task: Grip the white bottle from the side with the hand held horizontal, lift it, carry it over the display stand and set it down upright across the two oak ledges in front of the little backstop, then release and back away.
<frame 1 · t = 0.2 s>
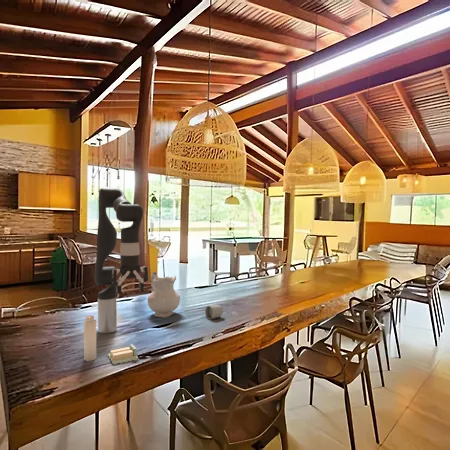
hand: (130, 293, 143), 29 cm above the table, tool pointing down, fingers open, 8 cm apart
display stand: (122, 357, 149), on the table
ceramic pitcher: (162, 314, 212), on the table
ceramic mug: (212, 317, 206), on the table
white bottle: (90, 358, 148), on the table
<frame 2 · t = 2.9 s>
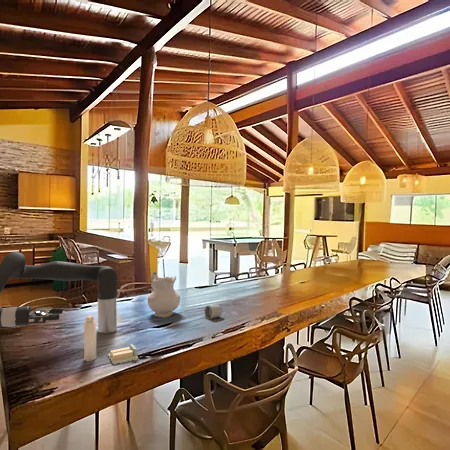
hand: (61, 313, 144), 20 cm above the table, tool horizontal, fingers open, 8 cm apart
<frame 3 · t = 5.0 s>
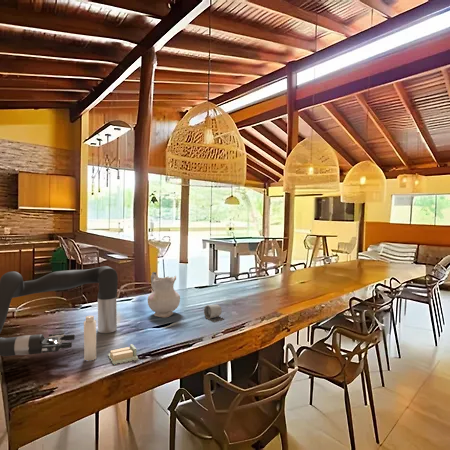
hand: (73, 340, 146), 9 cm above the table, tool horizontal, fingers open, 8 cm apart
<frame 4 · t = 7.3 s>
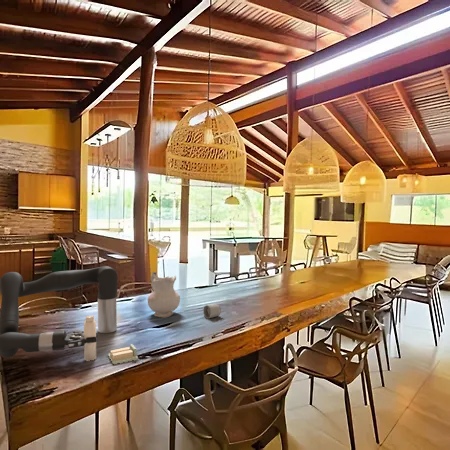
hand: (96, 337, 148), 9 cm above the table, tool horizontal, fingers closed on white bottle, 4 cm apart
white bottle: (90, 358, 148), on the table, touching gripper
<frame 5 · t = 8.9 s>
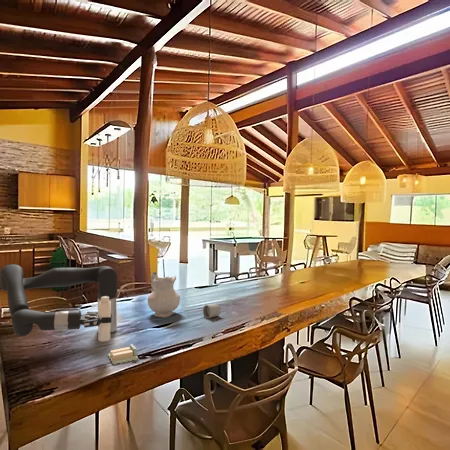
hand: (111, 317, 148), 17 cm above the table, tool horizontal, fingers closed on white bottle, 4 cm apart
white bottle: (104, 339, 148), point 8 cm above the table, touching gripper
when the fingers open (13 cm above the table, at t = 10.9 s): white bottle stays where it is, resting on display stand.
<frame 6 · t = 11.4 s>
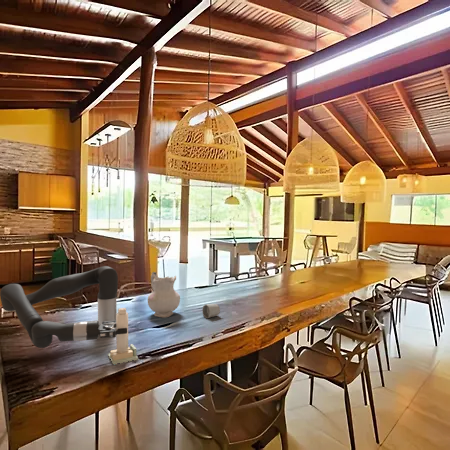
hand: (127, 327, 149), 13 cm above the table, tool horizontal, fingers open, 8 cm apart
white bottle: (122, 350, 149), point 3 cm above the table, touching display stand
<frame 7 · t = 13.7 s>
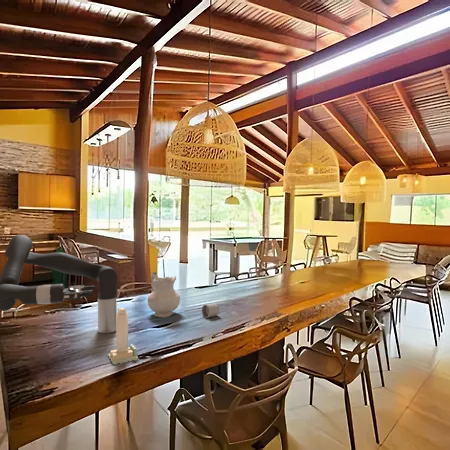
hand: (93, 290, 145), 29 cm above the table, tool horizontal, fingers open, 8 cm apart
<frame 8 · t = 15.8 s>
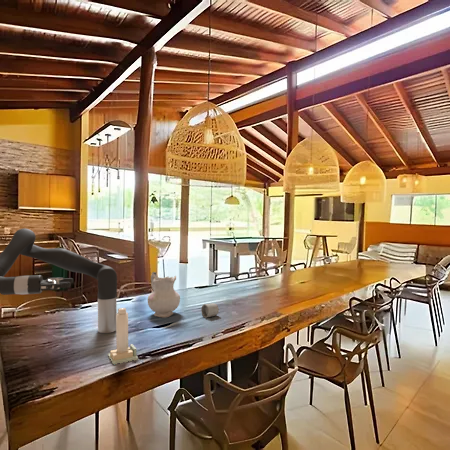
hand: (71, 282, 148), 32 cm above the table, tool horizontal, fingers open, 8 cm apart
at the end: white bottle 0.1 cm off-centre on the display stand, point 3.0 cm above the display stand's base; white bottle tilted 0°; the gripper is holding nothing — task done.
